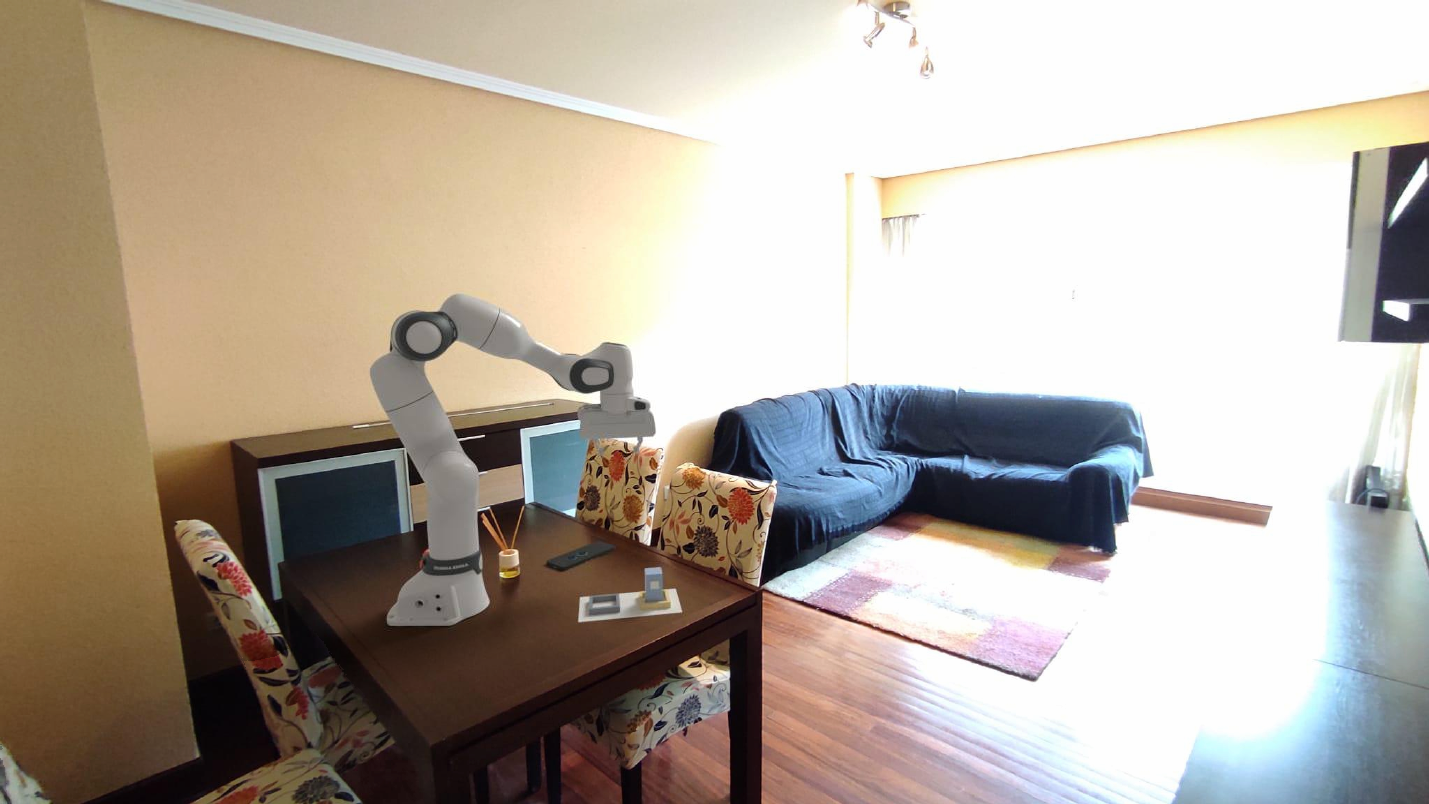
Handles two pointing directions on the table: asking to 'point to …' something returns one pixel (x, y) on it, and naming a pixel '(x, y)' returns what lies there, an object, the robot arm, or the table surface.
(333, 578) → the table surface
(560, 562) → the smart home device
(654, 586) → the plug
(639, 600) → the white board with frames
